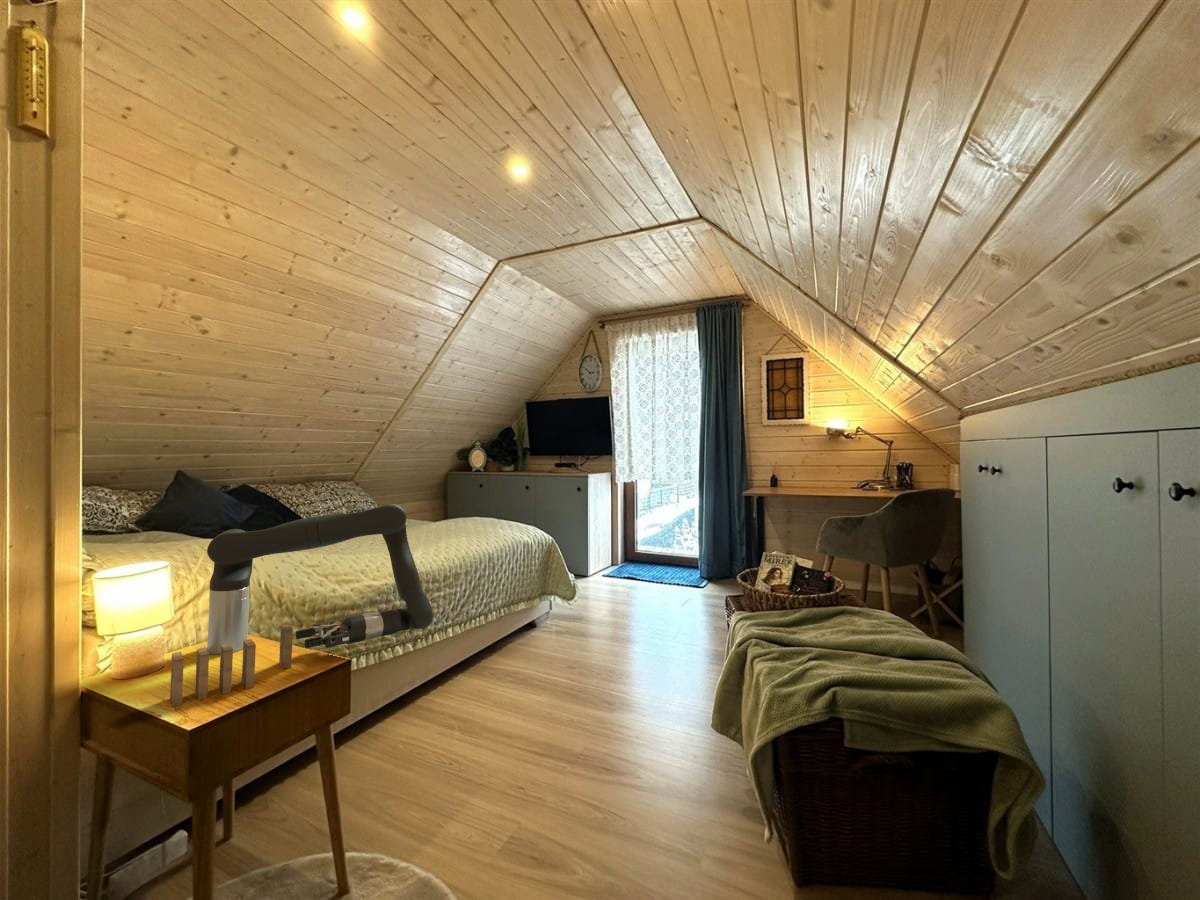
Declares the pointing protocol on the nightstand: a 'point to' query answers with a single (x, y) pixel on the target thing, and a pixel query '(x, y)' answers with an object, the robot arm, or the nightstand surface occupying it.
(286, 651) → the loose tile
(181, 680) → the tile
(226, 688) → the tile
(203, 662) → the wooden domino
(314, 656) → the nightstand surface
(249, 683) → the tile
